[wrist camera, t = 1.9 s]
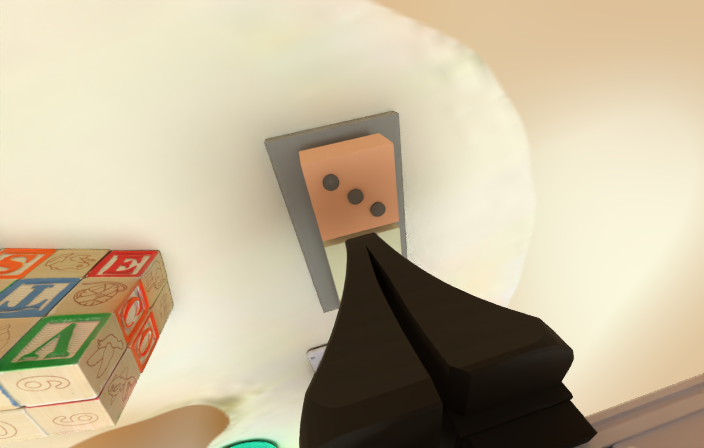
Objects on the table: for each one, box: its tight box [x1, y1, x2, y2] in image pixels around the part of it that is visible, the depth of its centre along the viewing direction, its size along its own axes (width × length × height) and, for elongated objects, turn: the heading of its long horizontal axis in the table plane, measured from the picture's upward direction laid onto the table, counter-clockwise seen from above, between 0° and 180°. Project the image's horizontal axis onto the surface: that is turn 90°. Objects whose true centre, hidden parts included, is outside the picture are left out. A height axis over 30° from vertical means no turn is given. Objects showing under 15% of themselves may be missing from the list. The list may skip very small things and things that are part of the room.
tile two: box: [323, 222, 402, 300], centre depth 19 cm, size 5×5×3 cm
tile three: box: [299, 133, 399, 241], centre depth 16 cm, size 5×5×3 cm
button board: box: [265, 111, 407, 313], centre depth 21 cm, size 17×9×3 cm, turn 9°
